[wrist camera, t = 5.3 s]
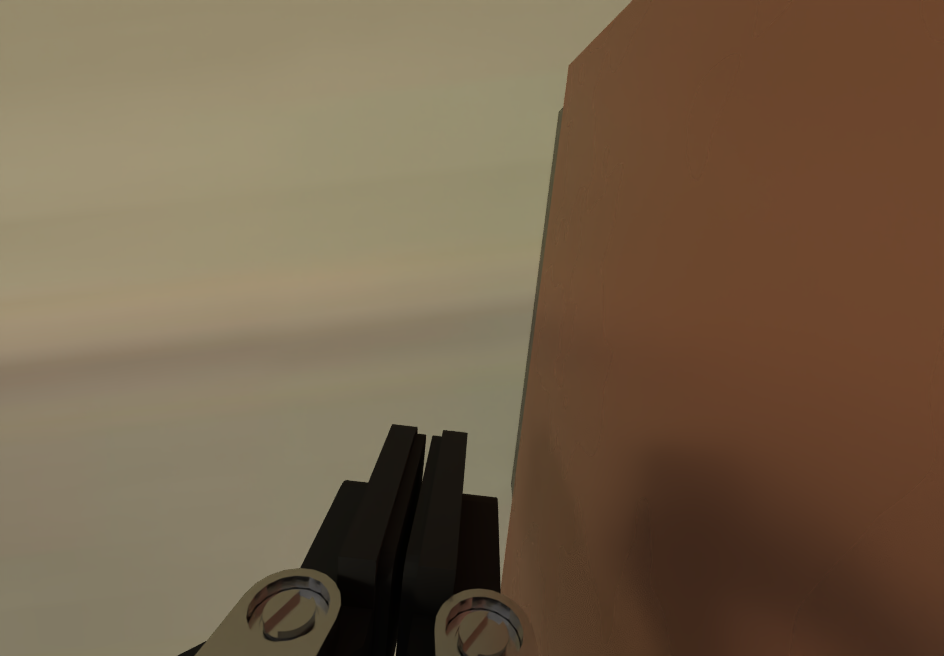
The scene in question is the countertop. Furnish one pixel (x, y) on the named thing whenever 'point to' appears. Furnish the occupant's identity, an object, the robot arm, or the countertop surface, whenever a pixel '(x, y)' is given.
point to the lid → (741, 339)
